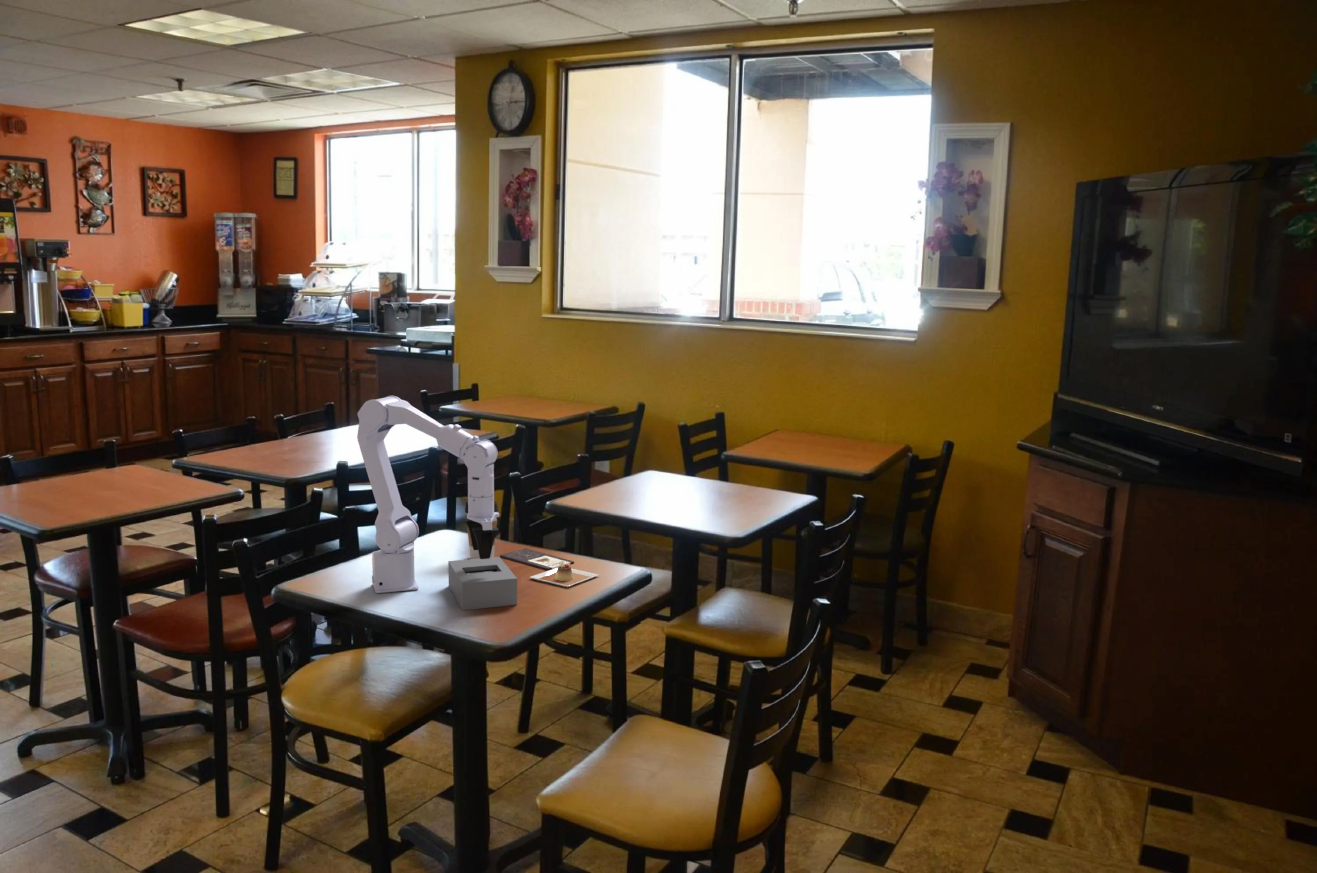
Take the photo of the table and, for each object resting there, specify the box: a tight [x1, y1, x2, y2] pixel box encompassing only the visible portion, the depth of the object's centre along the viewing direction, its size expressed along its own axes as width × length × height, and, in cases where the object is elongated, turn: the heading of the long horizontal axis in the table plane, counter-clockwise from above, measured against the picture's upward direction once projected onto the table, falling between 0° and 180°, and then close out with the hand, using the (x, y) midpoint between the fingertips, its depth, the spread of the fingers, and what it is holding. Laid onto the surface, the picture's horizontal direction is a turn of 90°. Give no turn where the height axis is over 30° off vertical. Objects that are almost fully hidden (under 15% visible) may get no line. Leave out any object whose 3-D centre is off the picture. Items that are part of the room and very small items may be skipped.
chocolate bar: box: [499, 548, 575, 571], centre depth 252 cm, size 9×1×18 cm
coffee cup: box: [464, 499, 499, 559], centre depth 251 cm, size 8×8×15 cm
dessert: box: [529, 561, 599, 588], centre depth 237 cm, size 12×12×5 cm
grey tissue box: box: [447, 556, 518, 611], centre depth 222 cm, size 12×18×6 cm, turn 21°
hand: (481, 554), depth 221 cm, fingers open, 7 cm apart
